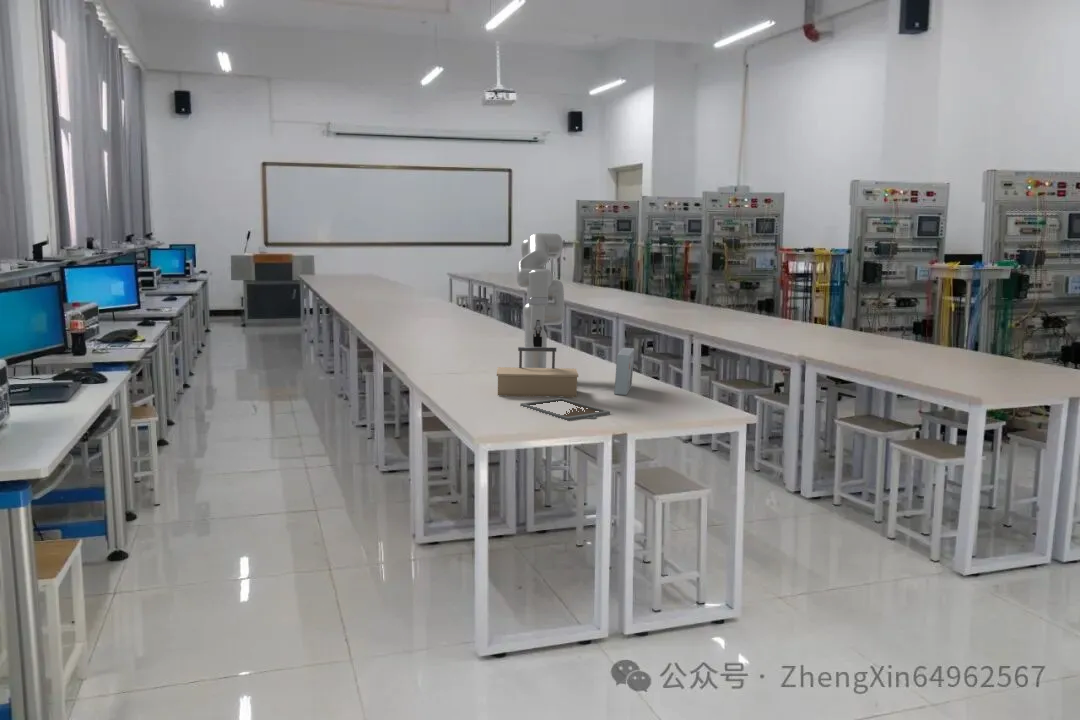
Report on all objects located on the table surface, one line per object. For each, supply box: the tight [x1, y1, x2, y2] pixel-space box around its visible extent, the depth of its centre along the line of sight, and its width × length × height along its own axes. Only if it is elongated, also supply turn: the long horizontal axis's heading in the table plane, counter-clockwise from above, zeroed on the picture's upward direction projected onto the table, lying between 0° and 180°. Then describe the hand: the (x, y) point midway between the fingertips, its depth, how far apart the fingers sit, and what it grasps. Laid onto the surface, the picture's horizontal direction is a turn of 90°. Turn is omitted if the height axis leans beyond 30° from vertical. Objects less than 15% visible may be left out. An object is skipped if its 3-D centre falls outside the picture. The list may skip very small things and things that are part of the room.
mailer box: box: [497, 376, 578, 398], centre depth 332 cm, size 14×30×8 cm, turn 91°
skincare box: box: [613, 347, 635, 396], centre depth 341 cm, size 21×6×16 cm, turn 168°
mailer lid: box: [496, 346, 579, 378], centre depth 331 cm, size 15×31×9 cm, turn 91°
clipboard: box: [519, 397, 611, 422], centre depth 302 cm, size 19×2×30 cm
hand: (537, 345), depth 337 cm, fingers open, 9 cm apart
